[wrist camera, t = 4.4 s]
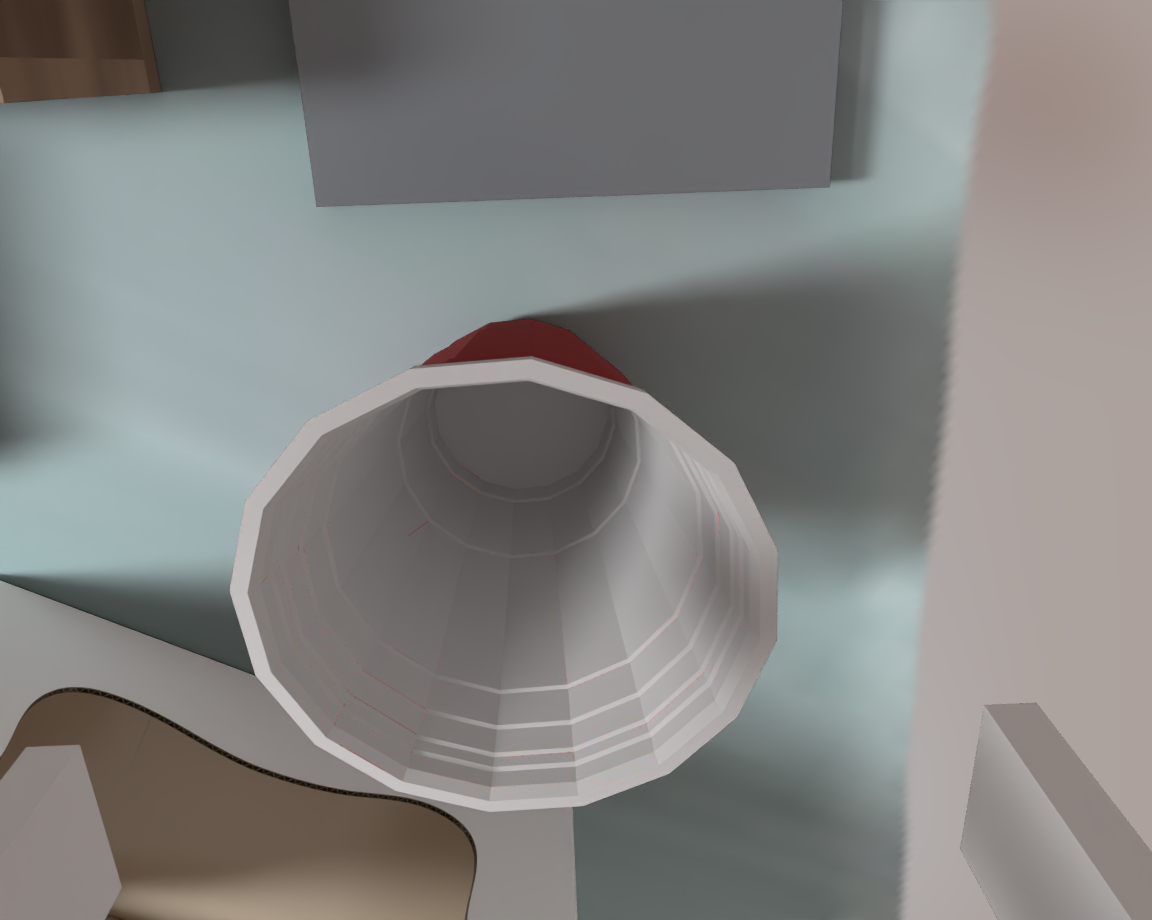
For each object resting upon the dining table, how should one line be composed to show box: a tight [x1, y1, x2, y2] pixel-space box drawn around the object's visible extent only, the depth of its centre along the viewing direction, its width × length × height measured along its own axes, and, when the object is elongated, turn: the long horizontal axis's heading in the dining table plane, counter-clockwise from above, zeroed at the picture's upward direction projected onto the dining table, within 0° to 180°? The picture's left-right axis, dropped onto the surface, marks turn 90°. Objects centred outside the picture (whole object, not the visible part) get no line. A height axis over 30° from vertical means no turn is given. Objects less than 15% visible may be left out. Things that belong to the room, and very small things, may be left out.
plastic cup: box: [229, 319, 778, 812], centre depth 24 cm, size 11×11×12 cm
